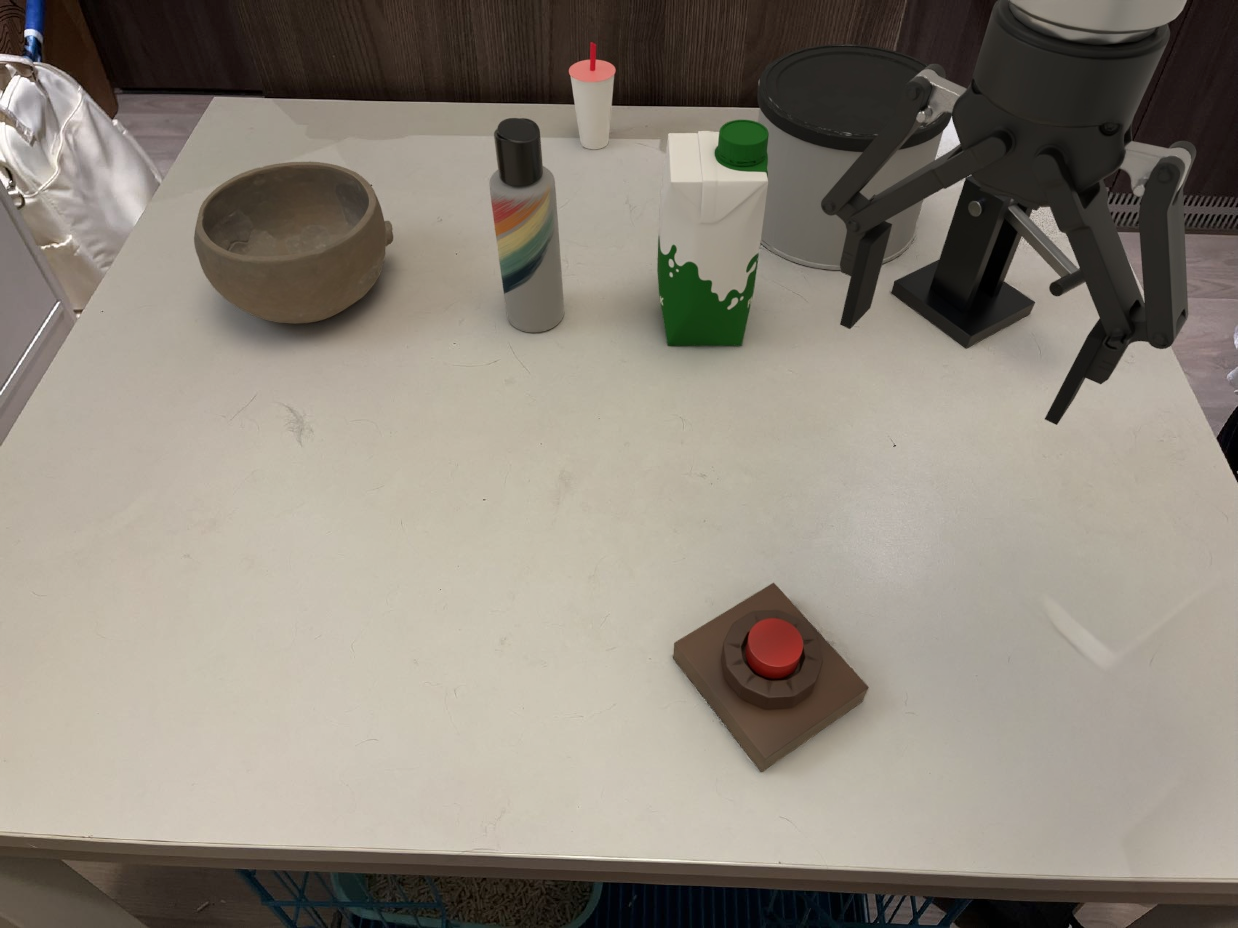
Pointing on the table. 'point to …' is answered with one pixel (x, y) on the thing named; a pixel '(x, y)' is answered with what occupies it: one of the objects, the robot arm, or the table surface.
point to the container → (834, 144)
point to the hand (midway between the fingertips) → (951, 360)
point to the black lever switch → (970, 272)
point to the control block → (768, 679)
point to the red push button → (774, 648)
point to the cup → (593, 99)
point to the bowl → (292, 240)
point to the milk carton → (711, 232)
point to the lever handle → (1045, 251)
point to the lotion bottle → (526, 228)
